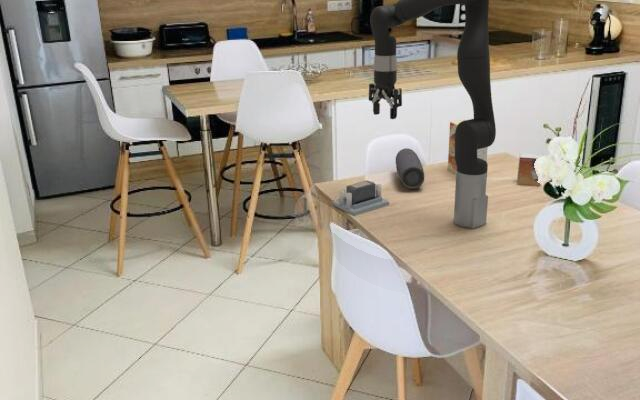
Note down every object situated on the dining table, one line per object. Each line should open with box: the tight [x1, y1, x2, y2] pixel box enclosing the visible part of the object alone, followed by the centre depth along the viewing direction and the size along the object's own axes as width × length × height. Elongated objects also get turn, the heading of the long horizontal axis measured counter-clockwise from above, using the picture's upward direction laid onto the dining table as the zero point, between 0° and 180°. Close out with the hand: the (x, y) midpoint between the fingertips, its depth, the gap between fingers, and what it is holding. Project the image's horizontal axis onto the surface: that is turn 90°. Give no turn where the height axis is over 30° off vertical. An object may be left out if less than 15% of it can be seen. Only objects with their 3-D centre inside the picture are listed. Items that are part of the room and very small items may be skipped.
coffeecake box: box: [447, 119, 489, 175], centre depth 242 cm, size 15×7×20 cm, turn 25°
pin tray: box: [332, 181, 390, 216], centre depth 218 cm, size 12×15×6 cm
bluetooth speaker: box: [395, 147, 425, 189], centre depth 238 cm, size 23×9×10 cm, turn 179°
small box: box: [516, 152, 543, 187], centre depth 233 cm, size 8×6×10 cm
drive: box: [345, 180, 377, 206], centre depth 218 cm, size 4×9×6 cm, turn 126°
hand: (384, 116), depth 218 cm, fingers open, 8 cm apart
